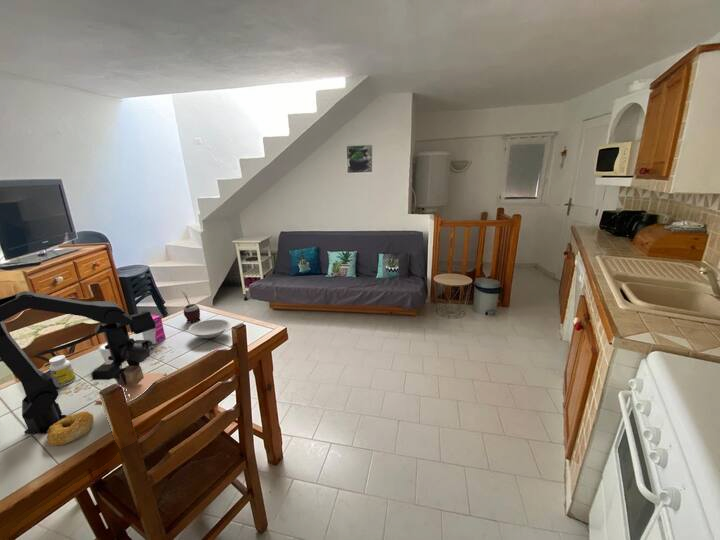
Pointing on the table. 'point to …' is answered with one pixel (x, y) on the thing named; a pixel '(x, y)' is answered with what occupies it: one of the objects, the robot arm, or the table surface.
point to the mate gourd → (191, 311)
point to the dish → (209, 328)
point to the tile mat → (140, 386)
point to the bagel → (70, 428)
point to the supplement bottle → (62, 370)
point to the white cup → (105, 353)
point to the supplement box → (155, 331)
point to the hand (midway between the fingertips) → (130, 379)
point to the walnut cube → (132, 376)
